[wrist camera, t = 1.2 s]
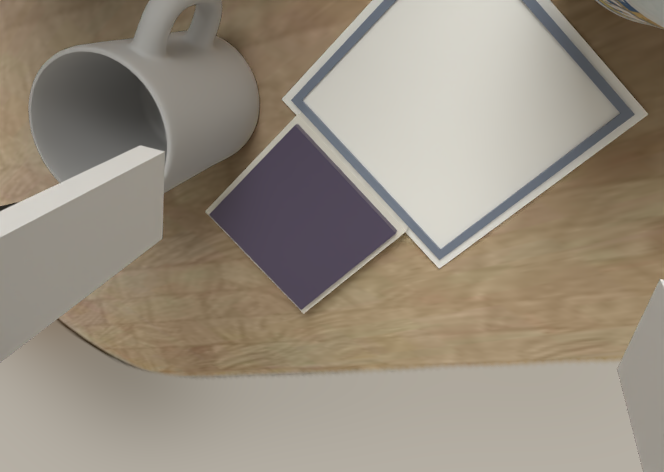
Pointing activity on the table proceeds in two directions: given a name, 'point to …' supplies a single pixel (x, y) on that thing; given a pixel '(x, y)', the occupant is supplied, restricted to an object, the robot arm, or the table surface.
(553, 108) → the print card
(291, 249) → the ink pad
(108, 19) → the table surface
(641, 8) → the supplement tub
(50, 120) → the mug
